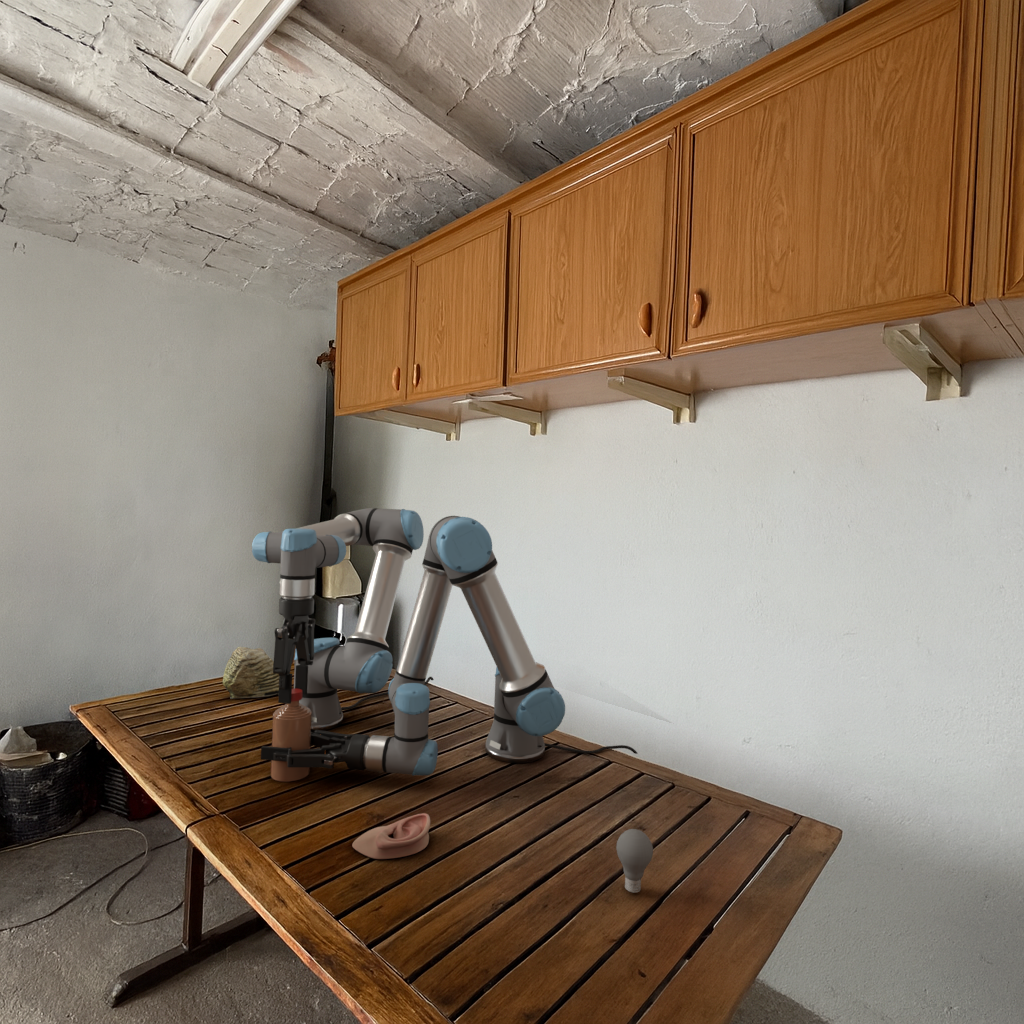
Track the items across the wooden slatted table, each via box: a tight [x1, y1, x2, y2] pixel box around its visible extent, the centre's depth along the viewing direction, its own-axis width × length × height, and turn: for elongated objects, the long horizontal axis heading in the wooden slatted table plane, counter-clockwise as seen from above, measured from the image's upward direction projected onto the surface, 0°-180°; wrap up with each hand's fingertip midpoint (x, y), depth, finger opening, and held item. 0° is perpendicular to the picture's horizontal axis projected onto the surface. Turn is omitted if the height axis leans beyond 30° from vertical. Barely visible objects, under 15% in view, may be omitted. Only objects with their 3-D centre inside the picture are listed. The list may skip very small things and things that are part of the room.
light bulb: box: [615, 828, 654, 894], centre depth 106 cm, size 6×6×10 cm
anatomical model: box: [351, 812, 431, 860], centre depth 117 cm, size 13×4×12 cm
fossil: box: [222, 646, 279, 699], centre depth 198 cm, size 9×18×15 cm, turn 132°
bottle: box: [270, 701, 312, 783], centre depth 144 cm, size 8×8×18 cm
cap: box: [291, 688, 303, 702], centre depth 144 cm, size 4×4×2 cm
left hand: (293, 697), depth 144 cm, fingers open, 6 cm apart
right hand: (271, 744), depth 144 cm, fingers closed on bottle, 8 cm apart
